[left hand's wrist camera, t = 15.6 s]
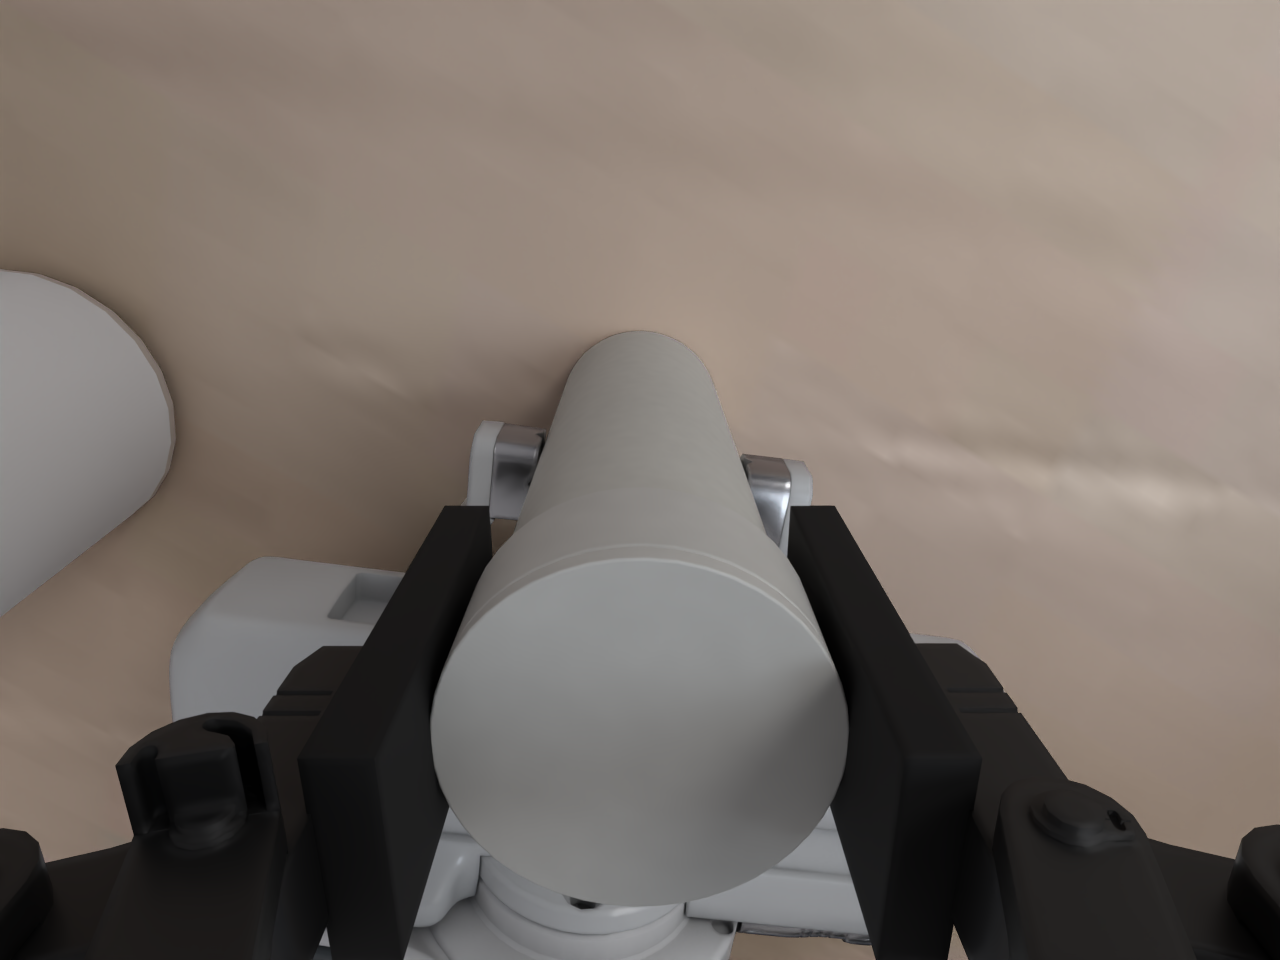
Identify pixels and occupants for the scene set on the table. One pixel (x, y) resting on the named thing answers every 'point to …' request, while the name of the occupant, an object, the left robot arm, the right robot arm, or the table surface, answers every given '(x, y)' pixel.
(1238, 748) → the table surface
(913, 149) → the table surface
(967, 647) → the right robot arm
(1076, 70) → the table surface
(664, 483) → the grey bottle
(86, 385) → the mug
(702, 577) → the lid
